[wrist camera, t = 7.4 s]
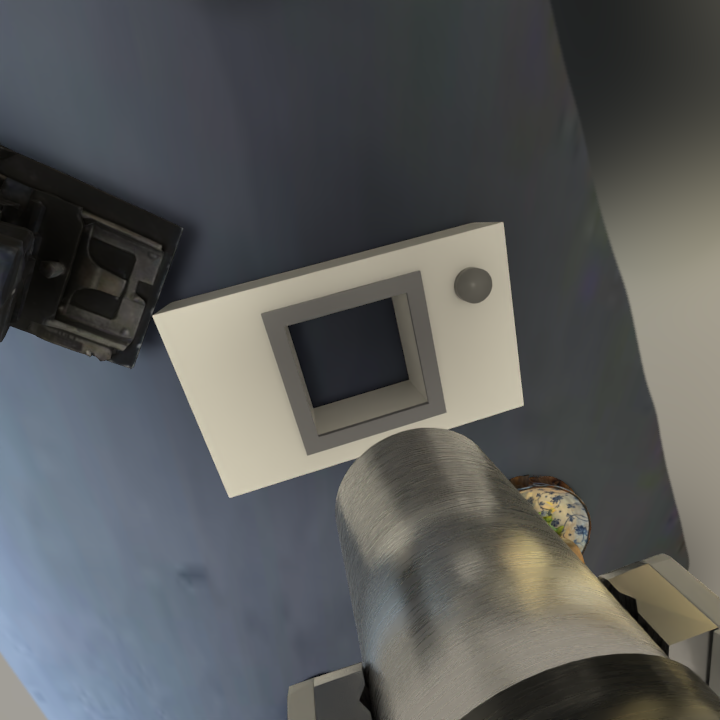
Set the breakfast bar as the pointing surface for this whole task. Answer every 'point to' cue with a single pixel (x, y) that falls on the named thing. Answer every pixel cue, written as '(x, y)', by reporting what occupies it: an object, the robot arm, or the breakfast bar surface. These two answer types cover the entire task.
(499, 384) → the camera body
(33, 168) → the vintage camera
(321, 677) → the robot arm
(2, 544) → the breakfast bar surface
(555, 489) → the burger
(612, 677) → the lens
